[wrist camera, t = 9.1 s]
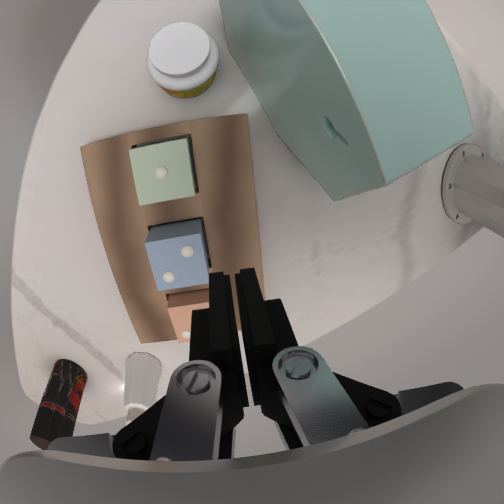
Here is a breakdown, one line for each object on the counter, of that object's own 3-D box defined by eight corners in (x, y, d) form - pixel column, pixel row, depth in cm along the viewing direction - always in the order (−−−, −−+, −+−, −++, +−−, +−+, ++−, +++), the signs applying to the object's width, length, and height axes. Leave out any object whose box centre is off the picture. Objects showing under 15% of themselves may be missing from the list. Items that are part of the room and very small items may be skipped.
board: (244, 114, 25) (247, 113, 23) (263, 315, 36) (266, 325, 34) (87, 145, 23) (80, 146, 21) (143, 333, 34) (141, 343, 32)
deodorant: (55, 354, 34) (26, 430, 20) (88, 367, 36) (67, 448, 22) (55, 374, 35) (32, 445, 22) (86, 387, 37) (69, 461, 24)
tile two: (200, 218, 27) (200, 234, 24) (208, 263, 30) (209, 284, 26) (151, 226, 27) (144, 243, 23) (162, 270, 29) (158, 292, 25)
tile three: (212, 280, 32) (214, 302, 28) (219, 314, 34) (222, 337, 31) (170, 287, 31) (167, 309, 28) (180, 320, 34) (178, 343, 30)
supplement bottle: (187, 109, 24) (179, 101, 15) (147, 77, 22) (120, 56, 13) (227, 70, 23) (239, 44, 14) (187, 39, 21) (180, 0, 12)
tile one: (189, 136, 25) (186, 138, 21) (196, 185, 27) (194, 196, 23) (138, 146, 24) (128, 150, 21) (147, 194, 27) (139, 206, 23)
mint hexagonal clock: (312, 86, 29) (445, 207, 18) (255, 113, 29) (373, 256, 19) (273, -42, 14) (499, 4, 4) (194, -17, 14) (390, 5, 4)
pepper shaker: (149, 347, 35) (141, 413, 26) (168, 371, 38) (166, 434, 28) (119, 356, 35) (106, 418, 25) (139, 378, 38) (132, 438, 28)
